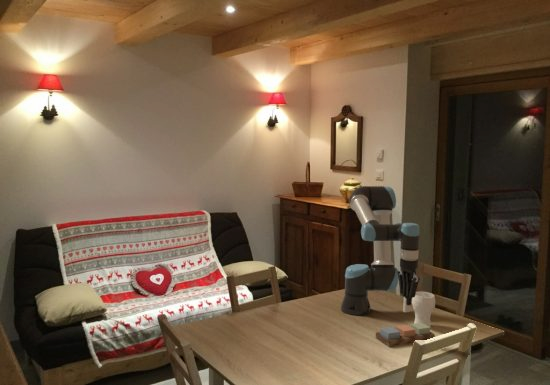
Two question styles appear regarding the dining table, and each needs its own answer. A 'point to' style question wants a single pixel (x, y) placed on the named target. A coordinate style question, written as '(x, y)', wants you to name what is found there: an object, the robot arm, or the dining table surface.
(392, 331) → the cap slate
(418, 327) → the cap sage
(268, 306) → the dining table surface
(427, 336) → the button board
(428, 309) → the cup
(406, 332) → the cap terracotta
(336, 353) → the dining table surface
